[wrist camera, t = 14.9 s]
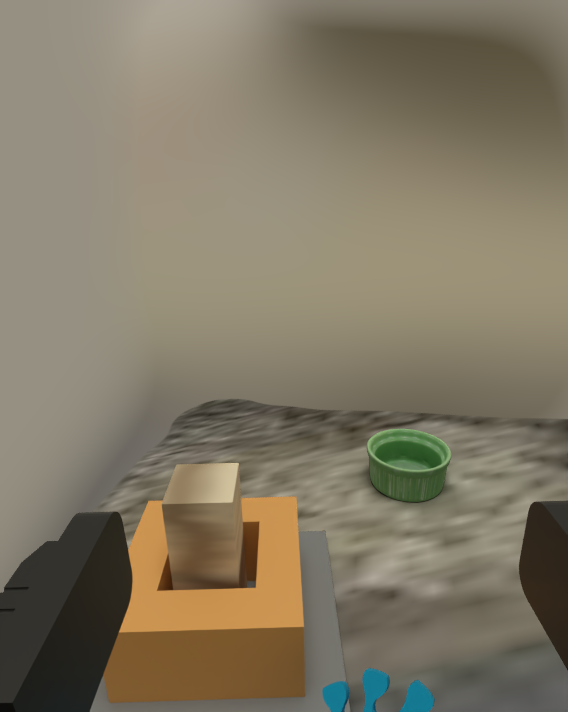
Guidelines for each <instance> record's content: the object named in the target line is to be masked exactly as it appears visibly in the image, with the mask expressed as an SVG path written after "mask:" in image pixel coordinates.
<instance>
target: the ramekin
mask: <svg viewBox="0 0 568 712" xmlns="http://www.w3.org/2000/svg"><path fill="white" fill-rule="evenodd" d="M367 452H368V455H369V468H370V479H371V481H372V483H373V485H374V486H375V488H376V489H377V490H379V491H380V492H381V493H383V494H384V495H386V496H388V497H391V498H393V499H396V500H400V501H406V502H421V501H426V500H429V499H432V498H434V497H435V496H437V495H438V494H439V493H440V492H441V490H442V488H443V485H444V480H445V475H446V470H447V466H448V465H449V462H450V459H451V451H450V449H449V447H448V446H447V445H446V444H445V443H444V442H443V441H442V440H440V439H439V438H437V437H435V436H433V435H431V434H428V433H425V432H421V431H417V430H411V429H392V430H386V431H382V432H379V433H377V434H375V435H374V436H372V437H371V438H370V439H369V441H368V443H367Z"/></svg>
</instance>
